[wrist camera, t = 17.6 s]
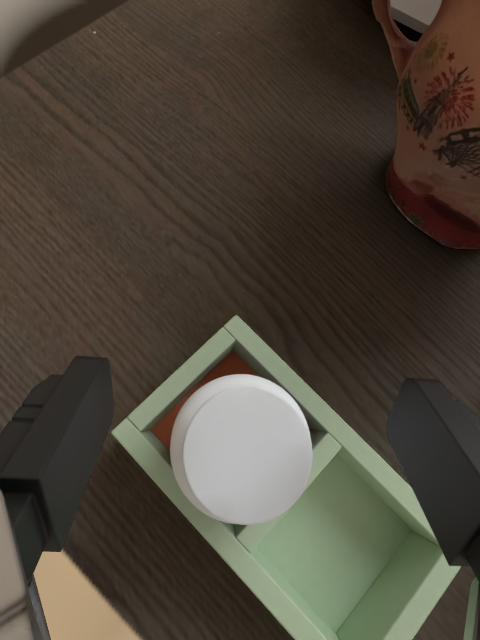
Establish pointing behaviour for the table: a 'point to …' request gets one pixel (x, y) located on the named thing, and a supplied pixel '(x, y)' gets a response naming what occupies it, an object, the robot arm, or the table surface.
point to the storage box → (307, 511)
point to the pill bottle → (241, 450)
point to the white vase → (415, 12)
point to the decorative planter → (438, 123)
